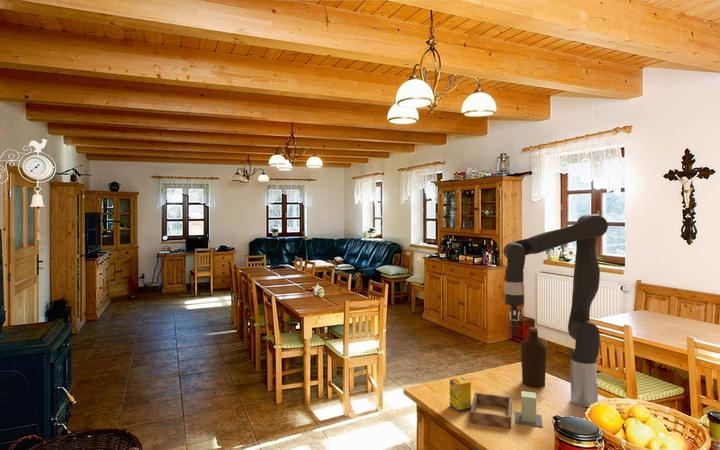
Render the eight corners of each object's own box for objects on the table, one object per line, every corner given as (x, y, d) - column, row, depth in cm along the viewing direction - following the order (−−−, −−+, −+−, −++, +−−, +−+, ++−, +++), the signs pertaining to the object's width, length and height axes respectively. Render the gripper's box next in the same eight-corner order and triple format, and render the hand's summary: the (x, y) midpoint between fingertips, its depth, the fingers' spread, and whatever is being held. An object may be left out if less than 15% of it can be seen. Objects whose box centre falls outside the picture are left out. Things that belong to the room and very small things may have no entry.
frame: (511, 407, 170) (511, 396, 170) (511, 428, 153) (511, 417, 153) (474, 402, 175) (474, 392, 175) (470, 422, 158) (470, 411, 158)
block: (535, 416, 161) (535, 392, 161) (536, 422, 157) (536, 398, 156) (521, 414, 163) (521, 391, 163) (521, 420, 158) (521, 396, 158)
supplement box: (449, 406, 172) (449, 378, 171) (462, 403, 174) (461, 376, 174) (458, 412, 166) (458, 384, 166) (471, 409, 169) (471, 381, 168)
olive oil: (547, 390, 186) (547, 332, 185) (520, 386, 190) (520, 330, 189) (546, 381, 196) (546, 326, 195) (521, 378, 199) (521, 324, 199)
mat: (541, 416, 162) (541, 415, 162) (542, 427, 154) (542, 426, 154) (515, 412, 166) (515, 411, 166) (515, 423, 157) (515, 422, 157)
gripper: (524, 296, 167) (525, 338, 167) (523, 289, 180) (523, 328, 181) (504, 295, 169) (504, 336, 170) (504, 289, 183) (504, 327, 183)
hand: (514, 332), depth 175 cm, fingers open, 8 cm apart
